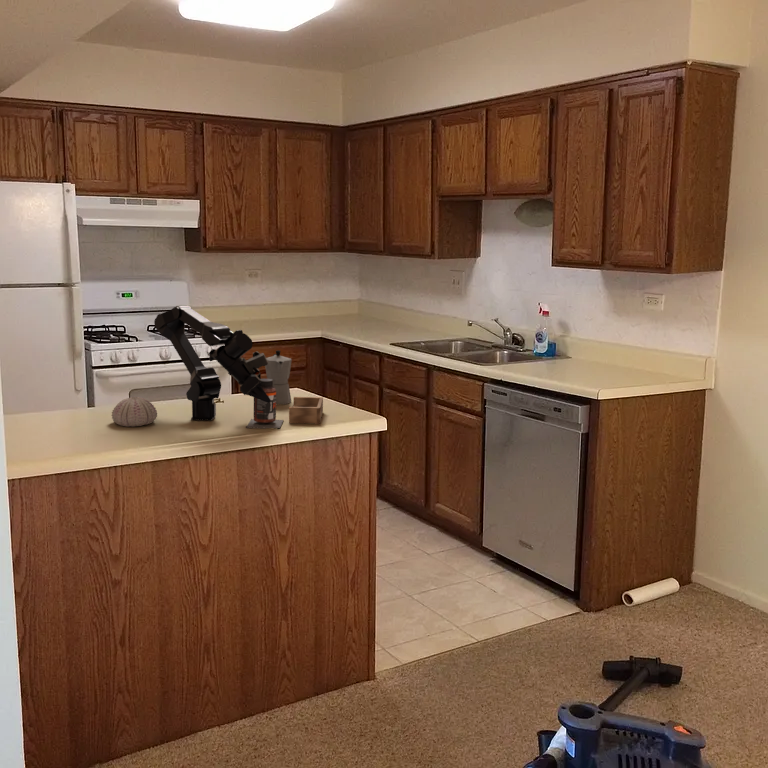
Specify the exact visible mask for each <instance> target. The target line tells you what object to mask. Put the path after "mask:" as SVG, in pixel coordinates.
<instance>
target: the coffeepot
mask: <svg viewBox="0 0 768 768" xmlns="http://www.w3.org/2000/svg"><path fill="white" fill-rule="evenodd" d="M266 359H267V361H268V364H267V365H266V366H264V368H265V373H266V379H272V380H273V387H274V388H275V389H276V404H283V405H289V404H290V403H291V402H292V397H291V391H290V385H289V378H290V373H291V367H292V361H293V359H292V358H290V357H287V356H283V355H281V350H278V349H277V350H275V353H274V354H273V355H272V356H269V357H266ZM288 403H289V404H288Z"/></svg>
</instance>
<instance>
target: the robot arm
mask: <svg viewBox="0 0 768 768" xmlns="http://www.w3.org/2000/svg"><path fill="white" fill-rule="evenodd" d="M153 323H154V327H155V329H156V331H157V332H158V333H159V334H160V335H161V337H163V338H166V339H167V340H169V341H170V343H171V345H172V346H173V348H174V349H175V351H176V353H177V354H178V356H179V358H180V360H181V361H182V363H183V364H184V366H185V368H186V369H187V371H188V373H189V374H190V377H189V378H190V379H189V381H190V382H189V384H190V387H189V388H188V390H187V391H186V394H185V395H186V399H187V400H188V401H190V402H191V412H192V414H191V418H190V420H191V421H213V420H214V418H216V416H217V403H216V402H215V399H219V397H220V393H221V390H222V389H221V388H222V382H221V379H220V376H219V375H218V374H217V372H216V370H215V368H214V367H205V364H204V363H203V362H202V360H201V358H200V357H199V355H198V353H197V352H196V350H195V348H194V346H193V345H192V343H191V342H190V340H189V338H188V336H187V335H186V333H185V327H186V325H187V326H189V327H190V328H191V329H193V330H194V331H196V332H197V333H199V334H200V335H201V340H203V341H204V342H205V344H206V345H208V346H209V347H214V346H215V347H216V346H217V347H218V348H216V349H215V348H211V350H210V351H209V352H208V354H209V355H208V356H209V357H208V359H209V360H208V361H209V362H213V360H215V361H216V362H217V363H219V364H220V366H221V367H223V369H224V370H225V371H226V372H227V374H228V376H232V377H233V378H234V379H235V380H236V381H237V384H238V385H239V391H240V393H242V394H243V396H249V397H252V398H254V397H255V398H257V399H260V400H262V401H265V402H267V403H269V402H270V401H271V400H270V398H269V397H268V395H267V394H266V392H265V391H264V390H263V388H262V387H261V379H262V378H261V377H262V376H261V372H260V368H262V367H265V366H266V365H267V364H268V361H267V359H266V358H267V356H266V355H265V353H264V352H259V351H257V350H256V351H254V352H252V357H250V358H249V359H246V358H245V357H242V356H243V355H245V354H246V353H248V352H249V351H250V350H251V349H252V347H253V340H252V338H251V337H250V336H249V335H248V334H246V333H244V332H243V330H242V329H238V330H237V329H236V330H235V331H234V332H233V331H232V330H231V328H230V327H229V326H227V325H225V324H222V323H218V322H213V321H212V320H209V319H208V318H206V317H205V316H203V315H202V314H200V313H199V312H197V311H196V310H194V309H192V307H191V306H190V305H176V306H174V307H173V308H171V309H169V310H166V311H165V312H162V313H158V314H157V315H156V317H155V318H154V322H153ZM257 373H258V374H257Z"/></svg>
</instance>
